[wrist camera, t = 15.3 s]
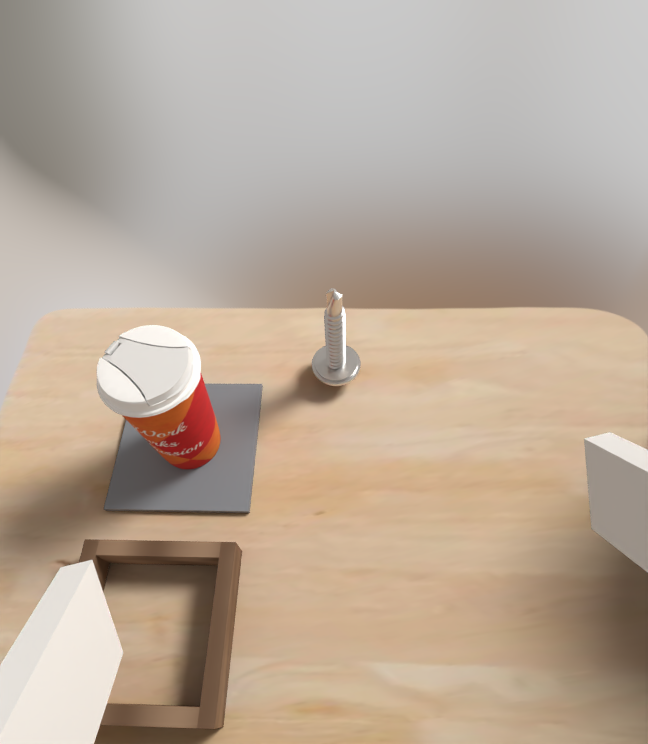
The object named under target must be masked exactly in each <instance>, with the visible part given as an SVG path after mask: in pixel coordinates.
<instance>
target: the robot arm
mask: <svg viewBox="0 0 648 744" xmlns="http://www.w3.org/2000/svg"><path fill="white" fill-rule="evenodd" d="M584 443H585V455H586V467H587V480H588V492H589V505H590V517H591V529H592V530H594V531H595V532H596V533H597V534H599V535H600V536H601V537H603V538H604V539H605V540H606V541H608V542H609V543H610V544H612V545H613V546H614V547H615V548H617V549H618V550H619V551H621V552H622V553H623V554H624V555H626V556H627V557H628V558H630V559H631V560H632V561H633V562H635V563H636V564H637V565H638V566H640V567H641V568H642V569H644V570H645V571H646V572H647V573H648V450H647V449H645V448H643V447H641V446H638V445H636V444H634V443H632V442H630V441H628V440H626V439H624V438H621V437H619V436H617V435H615V434H613V433H611V432H609V433H605V434H601V435H597V436H593V437H589V438H585V439H584ZM122 655H123V650H122V647H121V644H120V641H119V638H118V635H117V632H116V629H115V626H114V623H113V620H112V617H111V614H110V611H109V608H108V605H107V602H106V599H105V596H104V593H103V590H102V587H101V584H100V581H99V578H98V575H97V572H96V569H95V566H94V563H93V560H89V561H84V562H80V563H76V564H72V565H68V566H64V567H61V568H60V569H59V571H58V572H57V574H56V576H55V577H54V579H53V581H52V582H51V584H50V585H49V587H48V589H47V590H46V592H45V594H44V595H43V597H42V598H41V600H40V602H39V603H38V605H37V606H36V608H35V610H34V611H33V613H32V615H31V616H30V618H29V619H28V621H27V623H26V624H25V626H24V628H23V629H22V631H21V632H20V634H19V636H18V637H17V639H16V641H15V642H14V644H13V645H12V647H11V649H10V650H9V652H8V654H7V655H6V657H5V658H4V660H3V662H2V663H1V665H0V744H94V742H95V739H96V736H97V733H98V730H99V726H100V723H101V720H102V717H103V714H104V711H105V708H106V705H107V702H108V698H109V695H110V692H111V689H112V686H113V683H114V680H115V677H116V674H117V670H118V667H119V664H120V661H121V658H122Z"/></svg>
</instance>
